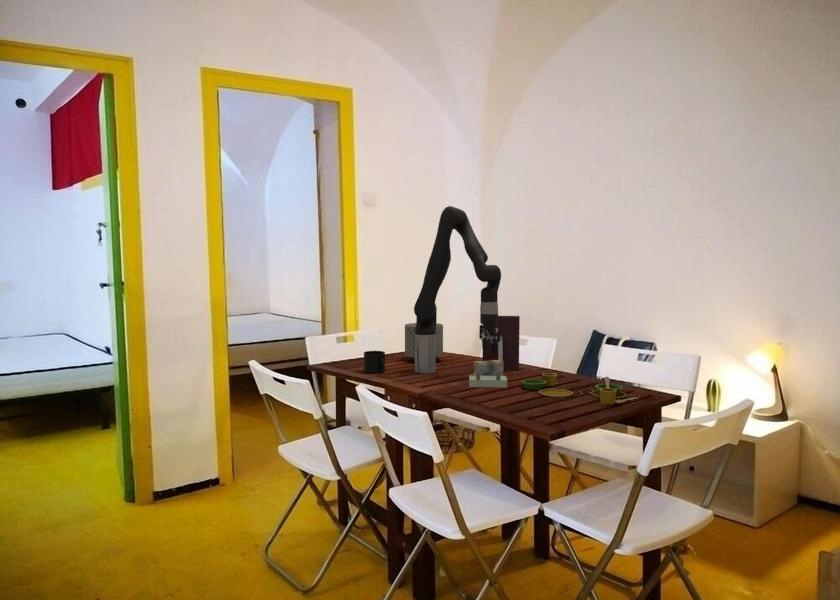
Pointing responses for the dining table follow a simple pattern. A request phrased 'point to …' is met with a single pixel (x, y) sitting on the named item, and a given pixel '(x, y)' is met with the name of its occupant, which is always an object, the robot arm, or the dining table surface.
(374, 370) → the mug
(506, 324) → the dark maroon upright block
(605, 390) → the tableware set
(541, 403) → the dining table surface
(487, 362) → the panel
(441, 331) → the planter
